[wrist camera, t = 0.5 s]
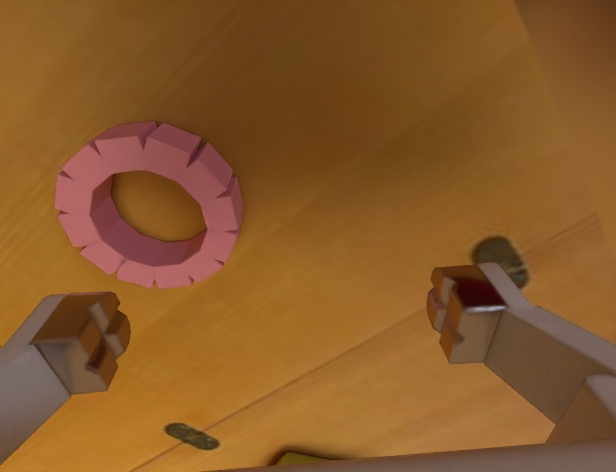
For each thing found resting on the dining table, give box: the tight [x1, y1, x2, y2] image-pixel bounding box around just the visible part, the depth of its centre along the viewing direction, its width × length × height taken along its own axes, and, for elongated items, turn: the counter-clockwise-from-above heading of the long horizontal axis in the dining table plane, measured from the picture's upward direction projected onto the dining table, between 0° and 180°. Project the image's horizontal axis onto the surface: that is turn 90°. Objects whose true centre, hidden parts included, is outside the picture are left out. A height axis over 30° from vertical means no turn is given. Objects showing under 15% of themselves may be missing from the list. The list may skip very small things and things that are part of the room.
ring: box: [54, 121, 244, 289], centre depth 21 cm, size 10×10×3 cm
